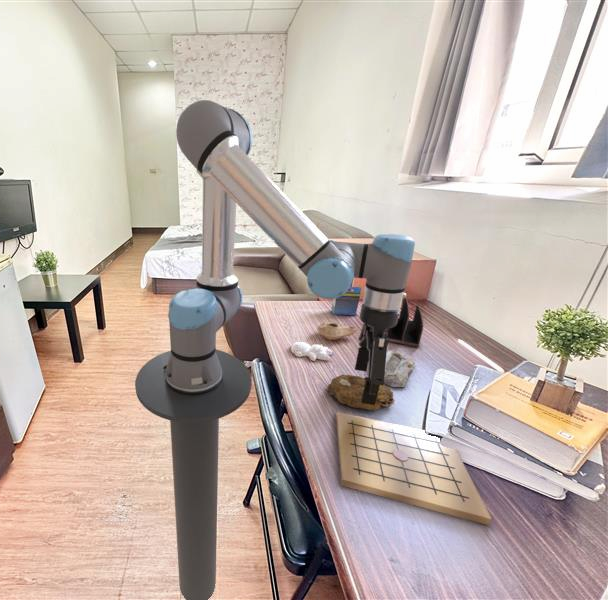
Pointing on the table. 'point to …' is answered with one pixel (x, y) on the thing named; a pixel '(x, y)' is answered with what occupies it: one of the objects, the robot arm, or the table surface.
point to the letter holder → (407, 327)
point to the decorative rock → (358, 392)
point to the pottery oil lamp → (335, 330)
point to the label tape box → (347, 302)
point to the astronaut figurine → (311, 351)
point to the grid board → (406, 467)
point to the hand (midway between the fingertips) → (363, 385)
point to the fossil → (397, 369)
